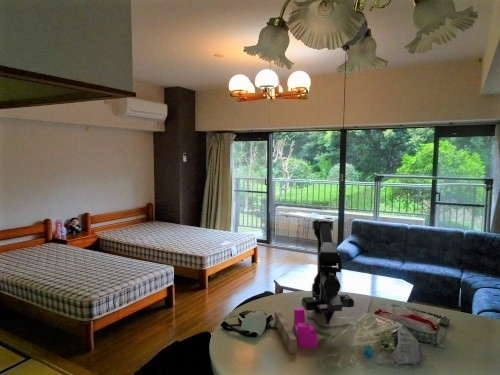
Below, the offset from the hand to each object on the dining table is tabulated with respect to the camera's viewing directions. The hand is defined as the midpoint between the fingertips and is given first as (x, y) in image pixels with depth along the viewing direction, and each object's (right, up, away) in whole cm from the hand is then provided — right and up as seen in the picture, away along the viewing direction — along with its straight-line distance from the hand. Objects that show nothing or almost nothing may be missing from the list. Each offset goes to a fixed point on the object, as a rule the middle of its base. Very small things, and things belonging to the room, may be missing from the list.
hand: (327, 324), depth 126 cm
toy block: (-9, -4, -2) cm, 10 cm away
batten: (-16, -4, -3) cm, 17 cm away
